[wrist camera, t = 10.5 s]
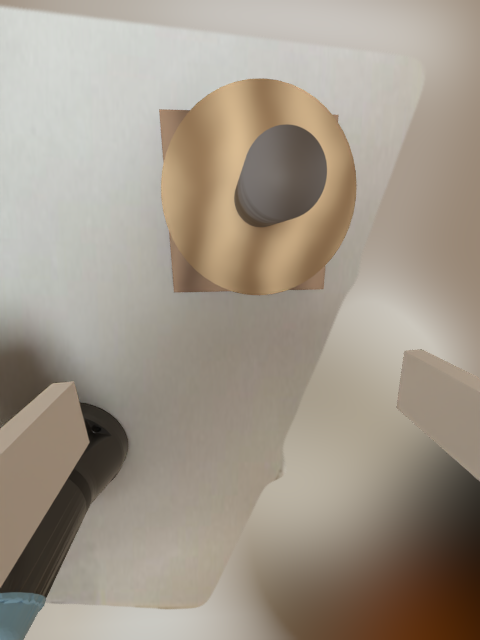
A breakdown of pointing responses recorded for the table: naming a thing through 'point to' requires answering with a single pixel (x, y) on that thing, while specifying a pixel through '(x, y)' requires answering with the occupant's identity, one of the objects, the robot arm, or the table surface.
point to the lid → (258, 186)
